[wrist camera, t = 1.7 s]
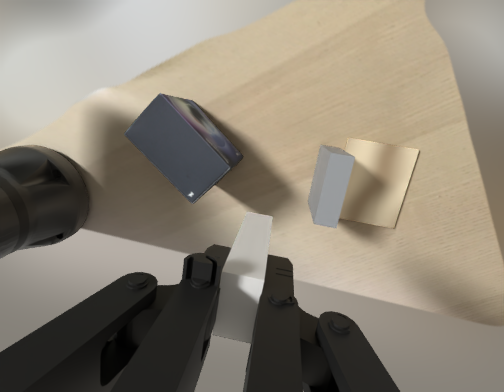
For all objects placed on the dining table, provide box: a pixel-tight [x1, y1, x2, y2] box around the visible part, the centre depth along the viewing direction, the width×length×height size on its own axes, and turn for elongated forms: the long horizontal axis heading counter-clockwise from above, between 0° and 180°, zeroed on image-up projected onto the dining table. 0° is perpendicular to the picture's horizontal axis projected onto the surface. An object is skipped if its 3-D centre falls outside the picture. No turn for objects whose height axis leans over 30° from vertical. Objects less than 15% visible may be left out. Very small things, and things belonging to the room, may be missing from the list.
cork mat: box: [339, 138, 419, 229], centre depth 38 cm, size 9×11×1 cm
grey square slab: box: [308, 145, 355, 228], centre depth 35 cm, size 3×8×9 cm, turn 171°
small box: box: [124, 93, 243, 203], centre depth 35 cm, size 11×6×10 cm, turn 43°
